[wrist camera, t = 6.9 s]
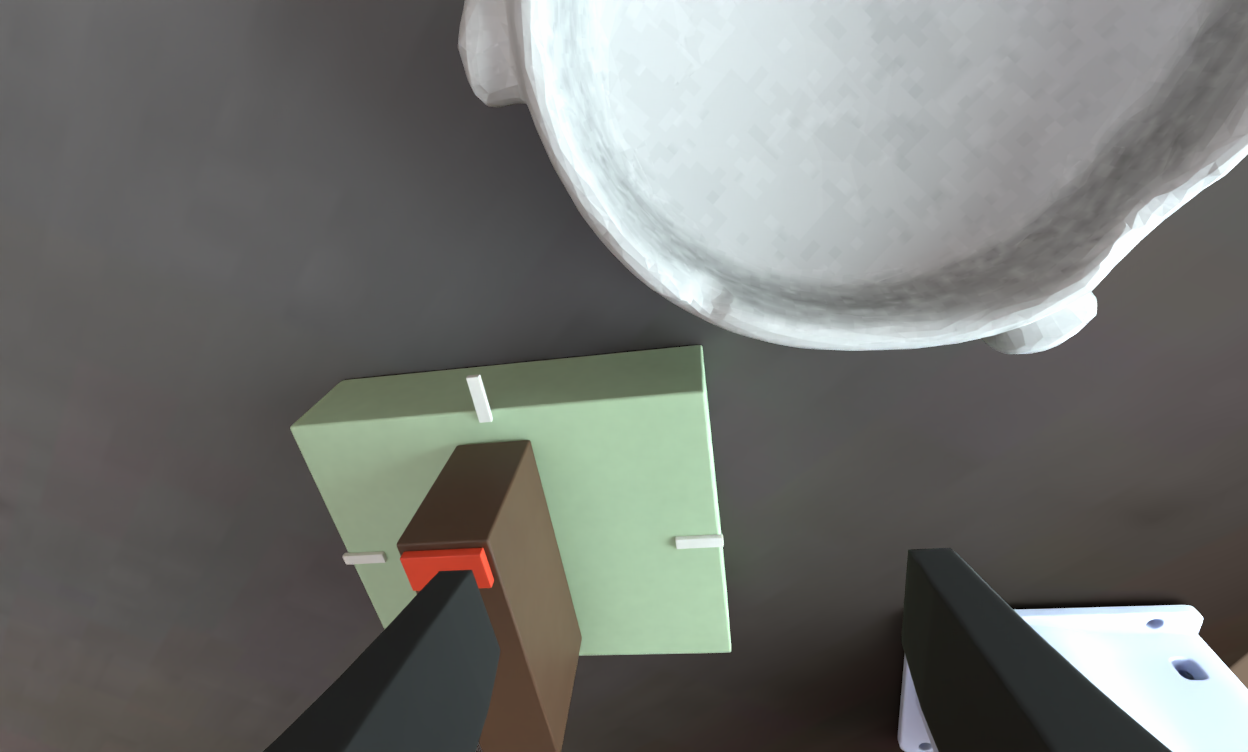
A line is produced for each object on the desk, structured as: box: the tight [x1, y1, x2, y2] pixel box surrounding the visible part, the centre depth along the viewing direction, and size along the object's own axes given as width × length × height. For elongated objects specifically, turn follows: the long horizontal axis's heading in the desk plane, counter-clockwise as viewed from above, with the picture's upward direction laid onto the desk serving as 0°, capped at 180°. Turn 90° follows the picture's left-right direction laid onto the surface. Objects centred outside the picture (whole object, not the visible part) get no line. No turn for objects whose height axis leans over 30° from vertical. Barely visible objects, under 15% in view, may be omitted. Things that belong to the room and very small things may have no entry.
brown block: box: [397, 440, 582, 752], centre depth 16 cm, size 8×2×4 cm, turn 9°
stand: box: [290, 345, 731, 656], centre depth 20 cm, size 12×12×3 cm
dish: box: [458, 0, 1248, 354], centre depth 12 cm, size 14×14×5 cm
